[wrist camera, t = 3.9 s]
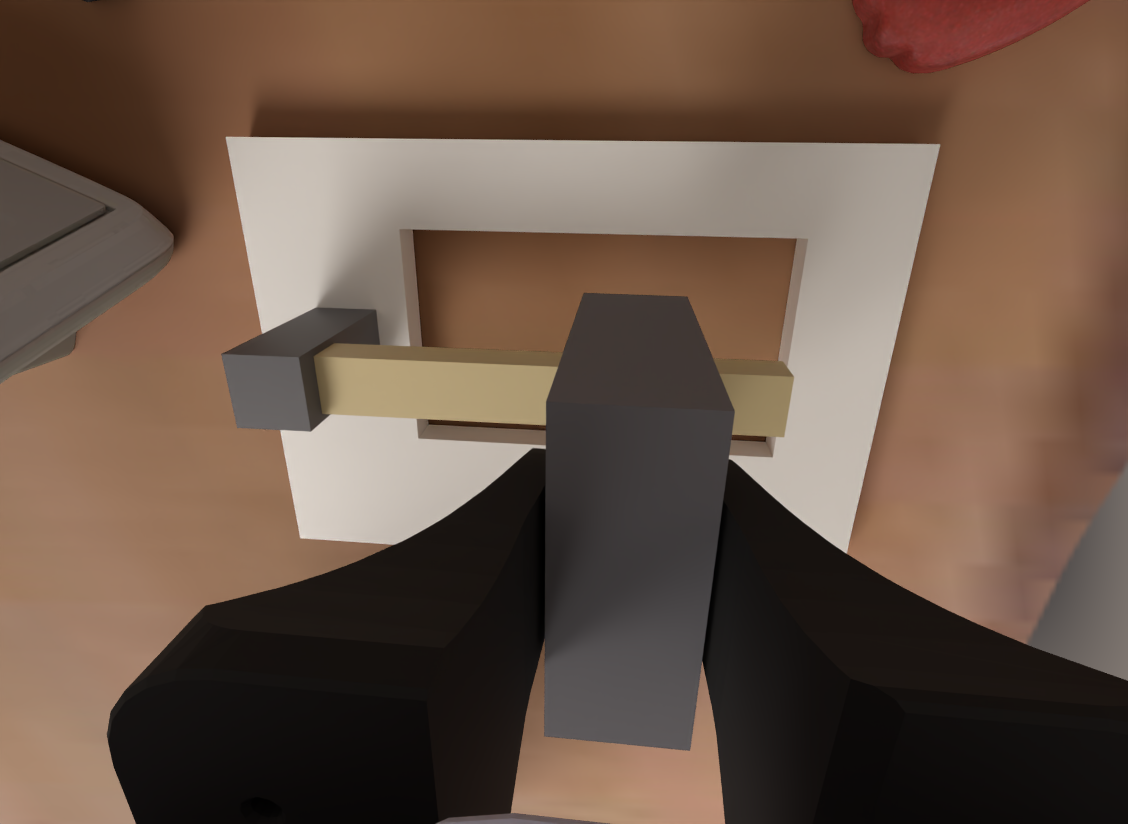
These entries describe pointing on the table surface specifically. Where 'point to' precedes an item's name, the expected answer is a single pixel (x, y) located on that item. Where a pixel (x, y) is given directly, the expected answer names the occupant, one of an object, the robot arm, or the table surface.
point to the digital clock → (65, 256)
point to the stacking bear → (951, 28)
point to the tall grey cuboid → (631, 520)
